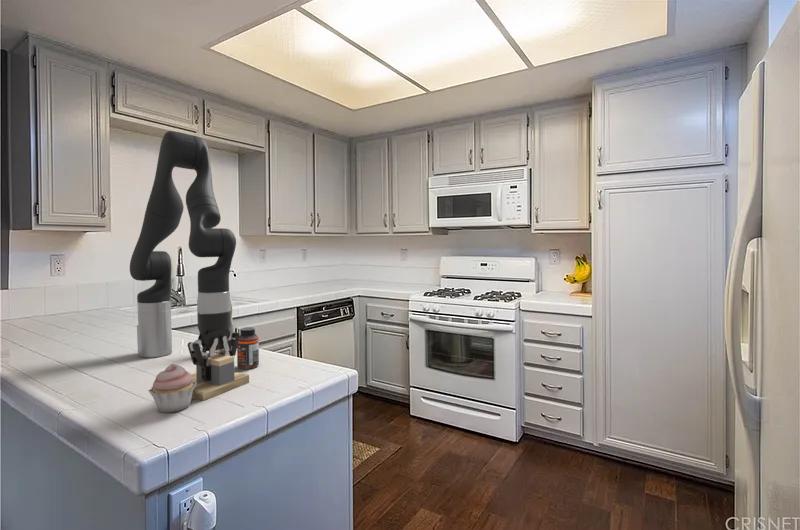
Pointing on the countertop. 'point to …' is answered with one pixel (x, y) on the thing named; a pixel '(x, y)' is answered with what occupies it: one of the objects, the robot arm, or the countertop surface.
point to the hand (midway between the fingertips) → (215, 377)
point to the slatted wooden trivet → (216, 386)
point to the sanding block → (219, 370)
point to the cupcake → (172, 389)
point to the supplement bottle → (248, 349)
